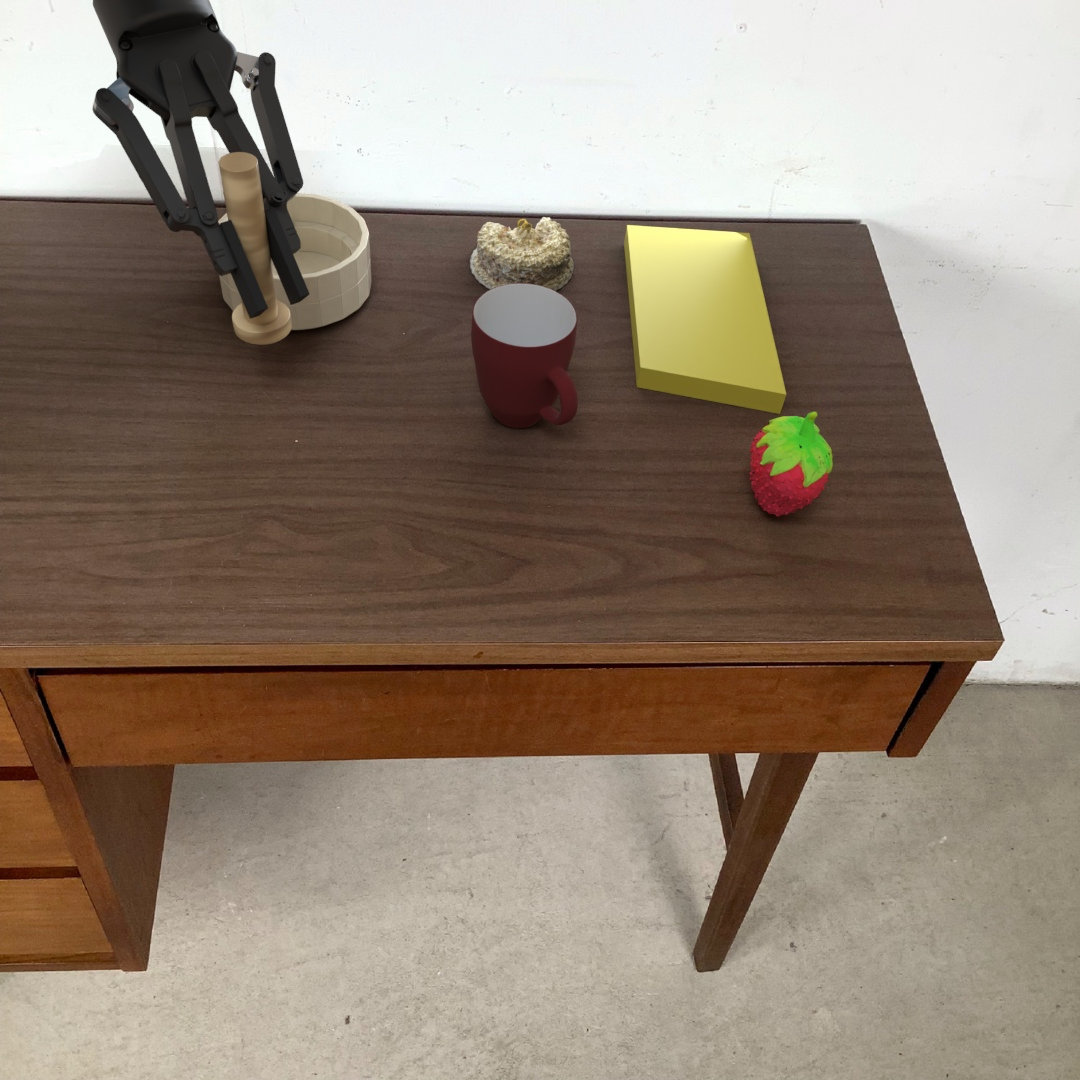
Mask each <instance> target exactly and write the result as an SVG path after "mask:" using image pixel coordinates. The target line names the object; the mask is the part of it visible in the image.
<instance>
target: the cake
mask: <svg viewBox="0 0 1080 1080" xmlns="http://www.w3.org/2000/svg"><path fill="white" fill-rule="evenodd" d="M522 222H523V223H522ZM521 223H522V224H521ZM476 239H477V240H476V243H477V245H476V247H475V249H474V250H473V252H472V254H471V255H470V260H469V267H470V271H471V274H472V275H473V276H474V278H475V279H476V281H478V283H479V284H481V285H483V286H484V287H485V288H486V289H488V290H490V289H493V288H495V287H498V286H502V285H506V284H514V283H527V284H535V285H540V286H543V287H547V288H549V289H552V290H554V291H556V292H558V290H559V289H560V290H561V289H563V287H564V286H565V285H566V284H568V282H569V281H570V280H571V278H572V275H573V273H574V267H575V262H574V261H575V260H573V259H572V252H571V247H572V246H571V238H570V237H569V234H567V230H566V229H565V228H562V227H561V223H558V222H557V221H555V220H552V218H551V217H545V216H543V217H541V219H540V220H539V222H537V223H536V225H535V228H533V225H532V223H529V222H528V221H527V219H526V218H520V219H519V220H517V227H514V228H513V229H512V228H511V227H510V226H508V227H507V226H505V225H502V224H501V223H498V222H496V223H495V222H491V221H486V222H485V223H484V224H483V225H482V226H481V228H480V230H479V231H477V236H476Z"/></svg>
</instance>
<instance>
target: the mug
mask: <svg viewBox="0 0 1080 1080" xmlns="http://www.w3.org/2000/svg"><path fill="white" fill-rule="evenodd" d="M471 311H472V312H471V326H470V327H471V328H470V329H471V330H470V340H471V350H472V356H473V361H474V366H475V370H476V371H475V373H476V377H477V382H478V383H477V384H478V388H479V392H480V394H481V397H482V399H483V401H484V403H485V404H486V406H487V408H488V409H489V411H490V412H491V413H492V415H493V417H494V418H495V419H496V421H498V422H499V423H500V424H501V425H503V426H506V427H508V428H512V429H525V428H529V427H532V426H534V425H536V424H537V423H539V421H540V420H541V419H542V418H543V419H544V420H545V421H547V422H548V423H550V424H552V425H555V426H562V425H566V424H568V423H570V422H571V421H572V420H574V418H575V417H576V415H577V412H578V407H579V399H578V393H577V388H576V386H575V383H574V381H573V378H572V377H571V376H570V375H569V373H568V370H569V366H570V364H571V361H572V358H573V354H574V350H575V347H576V338H577V331H578V313H577V310H576V308H575V307H574V305H573V303H572V301H570V300H569V299H568V298H567V297H565V295H563V294H561V293H560V292H558V291H554V290H552V289H549V288H547V287H543V286H540V285H535V284H527V283H514V284H506V285H502V286H498V287H495V288H493V289H488V290H487V291H485V292H484V293H482V294H481V295H480V296H479V297H478V298H477V299H476V301H475V303H473V307H472V310H471ZM558 397H559V401H560V402H559V403H560V411H558V410H556V409H555V408H553V406H554V404H555V403H556V401H557V399H558Z"/></svg>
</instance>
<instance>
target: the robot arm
mask: <svg viewBox="0 0 1080 1080" xmlns="http://www.w3.org/2000/svg"><path fill="white" fill-rule="evenodd" d="M92 7H93V10H94V12H95V14H96V16H97V18H98V21H99V23H100V25H101V28H102V30H103V32H104V35H105V37H106V40H107V42H108V44H109V46H110V48H111V51H112V53H113V55H114V58H115V60H116V72H115V75H116V76H115V77H116V79H115V80H114V81H113V82H112V83H111V84H110V85H108V87H107V88H106V87H101V88H98V89H97V90H96V92H95V96H94V100H93V102H92V108H91V109H92V113H93V114H94V115H95V117H96V118H97V119H99V121H101V122H102V124H104V125H105V126H106V127H107V128H108V130H110V131H112V133H113V134H114V135H115V136H116V138H117V140H118V142H119V143H120V145H121V147H122V148H123V150H124V152H125V154H126V156H127V157H128V159H129V161H130V164H131V165H132V167H133V168H134V170H135V173H137V175H138V177H139V179H140V181H141V182H142V184H143V186H144V188H145V190H146V191H147V193H148V195H149V197H150V198H151V200H152V202H153V204H154V205H155V208H156V209H157V211H158V213H159V215H160V216H161V218H162V220H163V222H164V223H165V226H166V227H167V228H168V229H169V230H170V231H171V232H173V233H174V232H175V233H179V232H180V231H184V232H193V233H194V234H195V236H198V237H200V239H201V241H202V243H203V245H204V248H205V250H206V252H207V255H208V257H209V260H210V262H211V264H212V266H213V269H214V271H215V272H216V273H217V274H218V276H219V275H220V276H223V275H227V274H230V273H231V275H232V278H233V280H234V282H235V285H236V287H237V289H238V292H239V294H240V296H241V299H242V301H243V303H244V306H245V308H246V310H247V313H248V315H249V317H250V319H251V318H254V317H257V316H260V315H261V314H262V313H263V312H264V311H266V310H267V309H268V306H267V304H266V301H265V299H264V297H263V294H262V292H261V290H260V287H259V285H258V282H257V280H256V278H255V275H254V273H253V271H252V268H251V266H250V264H249V261H248V259H247V257H246V254H245V252H244V249H243V247H242V245H241V242H240V240H239V238H238V235H237V233H236V231H235V228H234V226H233V224H232V221H231V220H229V221H225V222H222V223H220V225H219V222H218V221H219V216H218V211H217V208H216V205H215V202H214V197H213V194H212V190H211V187H210V184H209V180H208V177H207V174H206V170H205V166H204V164H203V163H204V162H203V159H202V157H201V153H200V149H199V146H198V142H197V139H196V135H195V131H194V129H193V128H194V127H193V119H194V118H206V119H207V120H208V123H209V124H210V126H211V128H212V129H213V130H214V131H216V132H217V133H218V135H219V137H220V139H221V141H222V142H223V144H224V146H225V148H226V149H227V152H228V154H229V153H233V152H245V153H249V154H252V155H254V156H255V157H256V158H257V160H258V166H259V174H260V181H261V188H262V196H263V203H264V211H265V218H266V225H267V233H268V240H269V248H270V255H271V259H272V262H273V264H274V266H275V269H276V271H277V273H278V276H279V278H280V281H281V283H282V285H283V288H284V290H285V292H286V295H287V297H288V300H289V302H290V304H291V305H293V304H296V303H299V302H301V301H302V300H303V299H304V298H306V297H307V296H308V295H309V294H310V293H309V291H308V289H307V286H306V284H305V281H304V279H303V277H302V274H301V272H300V269H299V267H298V265H297V262H296V260H295V257H294V255H293V254H294V253H296V252H297V251H298V250H299V249H300V248H301V243H300V239H299V236H298V234H297V231H296V229H295V226H294V224H293V222H292V219H291V217H290V214H289V212H288V209H287V202H288V201H289V200H290V199H292V198H293V197H294V196H295V195H296V194H297V193H300V190H302V188H303V187H304V179H303V175H302V171H301V169H300V165H299V162H298V158H297V155H296V152H295V149H294V145H293V142H292V139H291V135H290V132H289V129H288V125H287V121H286V118H285V115H284V112H283V108H282V106H281V102H280V98H279V96H278V92H277V89H276V69H277V68H276V65H277V64H276V63H277V61H276V58H275V56H274V55H273V54H272V53H270V52H269V51H268V52H267V51H266V52H265V51H264V52H262V53H260V55H259V56H255V55H253V54H248V53H243V52H240V51H237V48H236V46H235V45H234V43H232V41H231V40H229V38H228V37H226V35H225V34H224V33H223V31H222V30H221V28H220V25H219V21H218V19H217V16H216V13H215V11H214V8H213V6H212V4H211V1H210V0H92ZM235 72H237V73H238V74H239V76H240V77H241V82H242V84H243V86H244V87H245V88H246V89H247V90H248V89H249V90H250V100H251V104H252V108H253V112H254V114H255V117H256V122H257V124H258V128H259V131H260V134H261V137H262V141H263V144H264V147H265V151H266V155H267V157H268V161H269V165H270V167H271V168H270V167H269V165H268V163H267V162H266V159H265V157H264V156H263V154H262V152H261V151H260V149H259V147H258V144H257V143H256V141H255V140H254V138H253V136H252V135H251V132H250V131H249V129H248V127H247V125H246V124H245V122H244V120H243V118H242V116H241V114H240V112H239V107H238V104H237V102H236V100H235V98H234V97H233V94H232V92H231V88H232V84H233V79H234V75H235ZM130 96H131V97H133V98H134V99H135V100H137V101H138V102H140V103H141V104H143V105H144V106H145V107H146V108H147V109H149V110H151V112H153V113H155V114H156V115H157V116H158V117H160V120H161V124H162V127H163V131H164V134H165V137H166V139H167V140H168V141H169V144H170V148H171V151H172V154H173V159H174V161H175V165H176V169H177V173H178V175H179V178H180V182H181V186H182V189H183V193H184V196H185V199H186V203H187V205H186V203H185V202H184V200H183V198H182V196H181V194H180V193H179V191H178V189H177V187H176V185H175V183H174V182H173V180H172V178H171V177H170V175H169V173H168V171H167V169H166V167H165V165H164V163H163V162H162V159H160V156H159V155H158V153H157V151H156V149H155V148H154V146H153V144H152V142H151V139H149V137H148V135H147V133H146V132H145V130H144V127H143V126H142V124H141V122H140V120H139V119H138V118H137V116H136V115H135V114H134V108H135V106H134V102H133V101H132V99H131V97H130Z"/></svg>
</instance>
